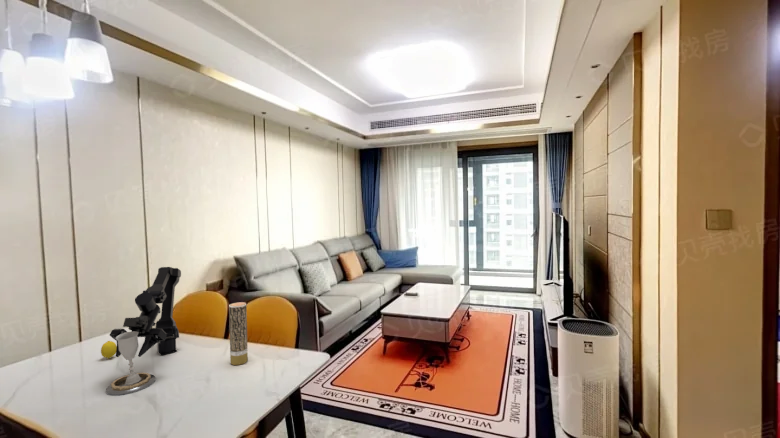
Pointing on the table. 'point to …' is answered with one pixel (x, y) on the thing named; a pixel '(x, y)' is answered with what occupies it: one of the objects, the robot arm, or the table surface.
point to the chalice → (129, 353)
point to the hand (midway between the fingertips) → (127, 356)
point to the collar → (121, 388)
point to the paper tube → (238, 333)
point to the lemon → (108, 349)
